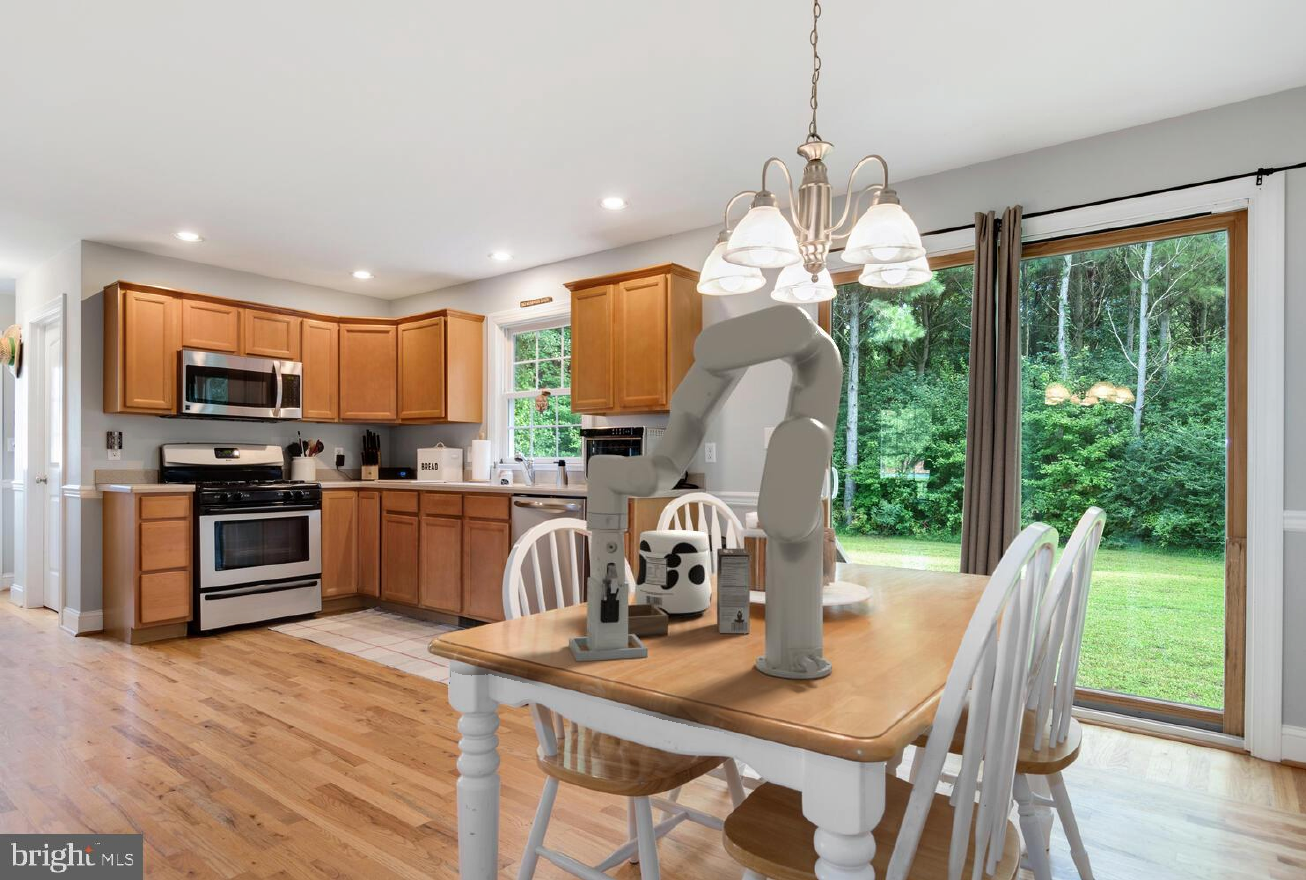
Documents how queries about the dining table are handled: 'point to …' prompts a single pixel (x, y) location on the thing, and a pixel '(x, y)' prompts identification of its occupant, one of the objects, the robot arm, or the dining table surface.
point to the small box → (606, 633)
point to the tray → (580, 655)
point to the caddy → (647, 621)
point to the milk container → (674, 572)
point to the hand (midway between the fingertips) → (604, 616)
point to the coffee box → (733, 590)
